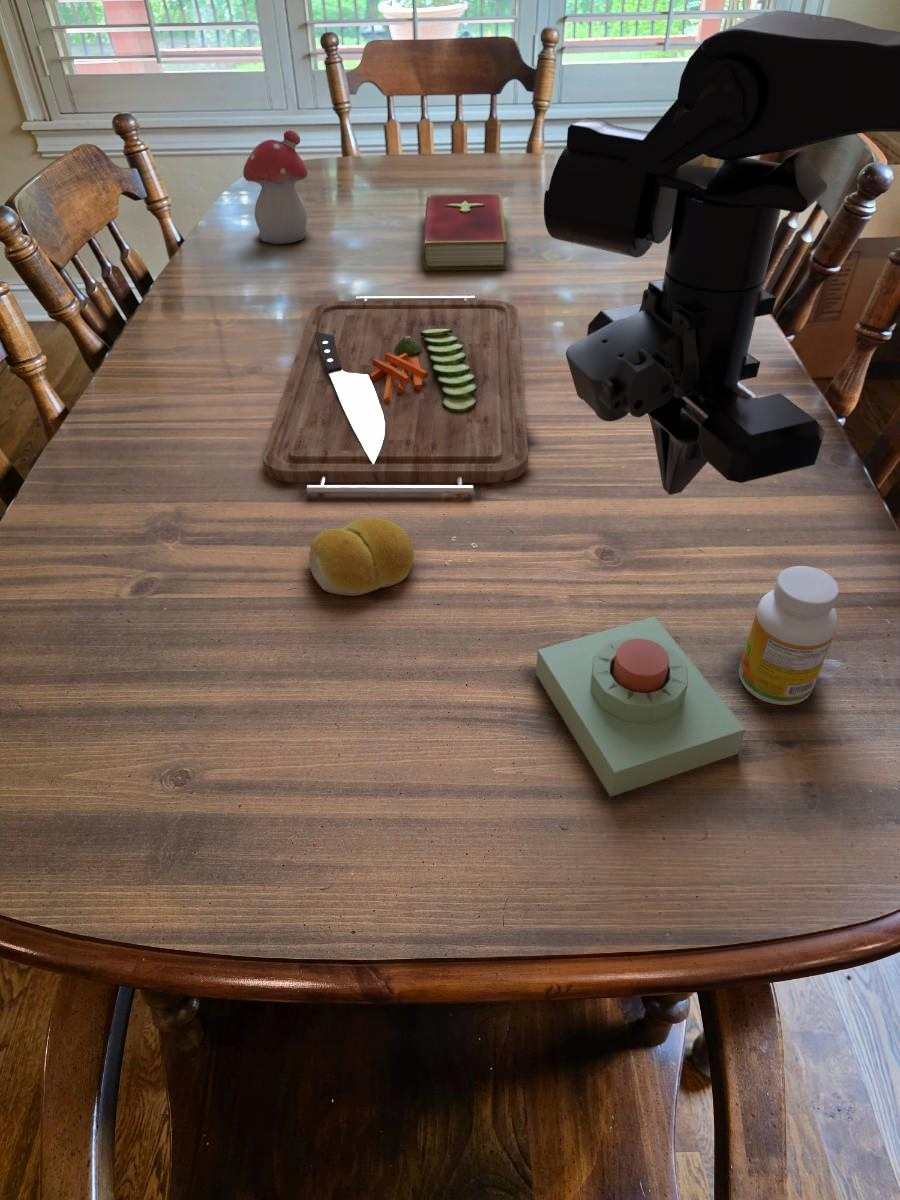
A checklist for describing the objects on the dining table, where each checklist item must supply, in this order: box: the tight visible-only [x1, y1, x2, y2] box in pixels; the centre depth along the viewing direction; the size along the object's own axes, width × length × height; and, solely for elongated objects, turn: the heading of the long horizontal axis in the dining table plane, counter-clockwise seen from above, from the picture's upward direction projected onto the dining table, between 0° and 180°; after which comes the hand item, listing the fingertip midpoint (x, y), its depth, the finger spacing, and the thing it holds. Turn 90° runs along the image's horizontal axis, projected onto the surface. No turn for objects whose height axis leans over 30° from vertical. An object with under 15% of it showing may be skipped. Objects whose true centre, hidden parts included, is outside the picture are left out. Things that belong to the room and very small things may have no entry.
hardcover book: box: [422, 192, 508, 271], centre depth 132 cm, size 12×21×4 cm, turn 0°
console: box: [535, 616, 746, 798], centre depth 62 cm, size 10×12×4 cm
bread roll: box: [307, 517, 415, 597], centre depth 75 cm, size 8×9×4 cm
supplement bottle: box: [738, 565, 840, 706], centre depth 62 cm, size 5×5×10 cm
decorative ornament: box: [242, 129, 308, 245], centre depth 131 cm, size 9×6×15 cm
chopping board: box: [262, 295, 529, 495], centre depth 99 cm, size 45×27×3 cm, turn 179°
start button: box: [613, 639, 669, 693], centre depth 60 cm, size 4×4×2 cm
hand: (672, 491), depth 61 cm, fingers closed
